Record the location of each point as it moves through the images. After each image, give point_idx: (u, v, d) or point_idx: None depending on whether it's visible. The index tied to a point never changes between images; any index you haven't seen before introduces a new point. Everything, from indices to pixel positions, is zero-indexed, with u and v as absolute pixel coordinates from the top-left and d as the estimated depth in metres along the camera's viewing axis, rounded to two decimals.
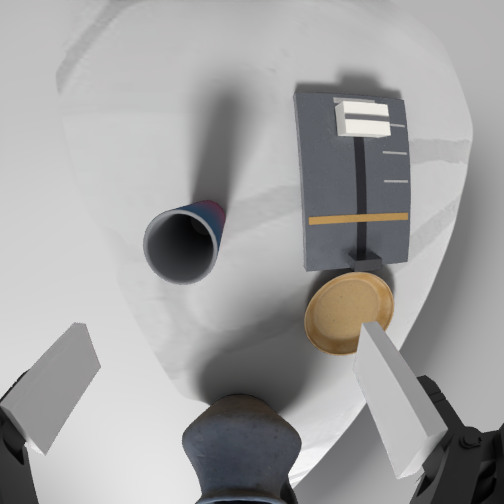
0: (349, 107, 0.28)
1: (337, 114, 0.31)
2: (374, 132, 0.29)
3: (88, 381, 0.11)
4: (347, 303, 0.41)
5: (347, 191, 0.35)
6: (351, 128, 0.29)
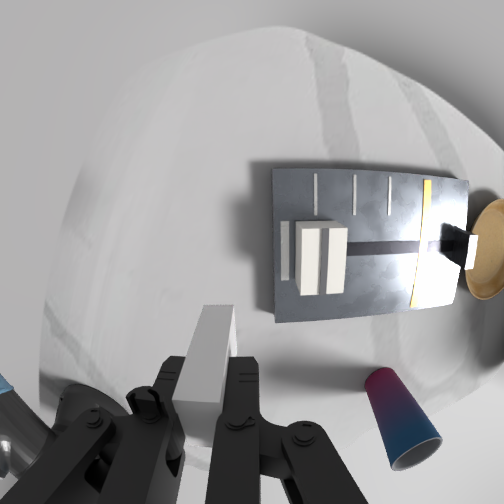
0: (309, 287, 0.24)
1: None
2: (344, 253, 0.23)
3: None
4: (483, 248, 0.29)
5: (395, 265, 0.28)
6: (338, 286, 0.24)
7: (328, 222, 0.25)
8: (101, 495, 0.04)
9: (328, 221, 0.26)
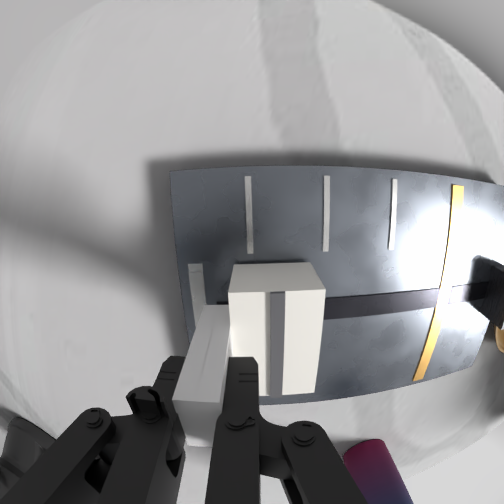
0: None
1: None
2: (317, 335, 0.12)
3: None
4: None
5: (396, 328, 0.16)
6: (304, 384, 0.13)
7: (293, 268, 0.14)
8: (101, 495, 0.04)
9: (294, 265, 0.14)
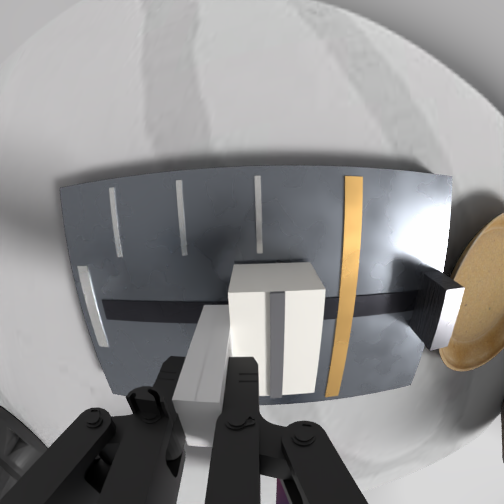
0: None
1: None
2: (317, 335, 0.12)
3: None
4: (477, 291, 0.18)
5: None
6: (304, 384, 0.13)
7: (293, 268, 0.14)
8: (101, 495, 0.04)
9: (294, 265, 0.14)
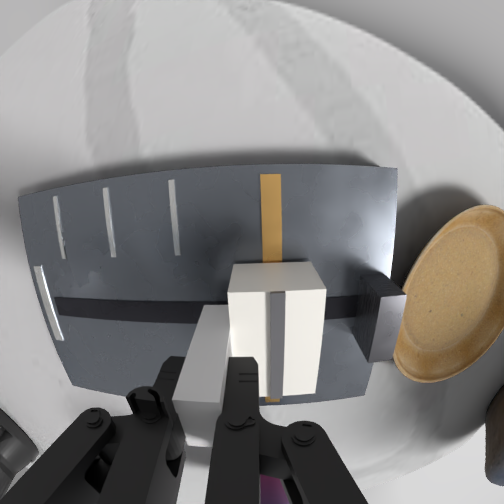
0: None
1: None
2: (317, 336, 0.12)
3: None
4: (445, 296, 0.17)
5: None
6: (305, 384, 0.13)
7: (293, 268, 0.14)
8: (101, 495, 0.04)
9: (295, 264, 0.14)
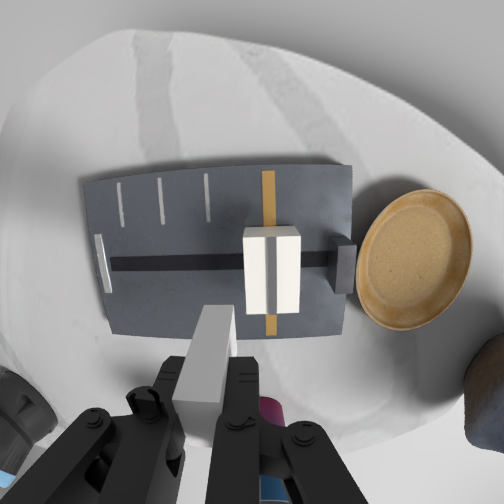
0: (256, 305, 0.21)
1: None
2: (297, 267, 0.20)
3: None
4: (402, 260, 0.25)
5: (229, 283, 0.24)
6: (291, 304, 0.21)
7: (282, 228, 0.22)
8: (101, 495, 0.04)
9: (284, 227, 0.22)
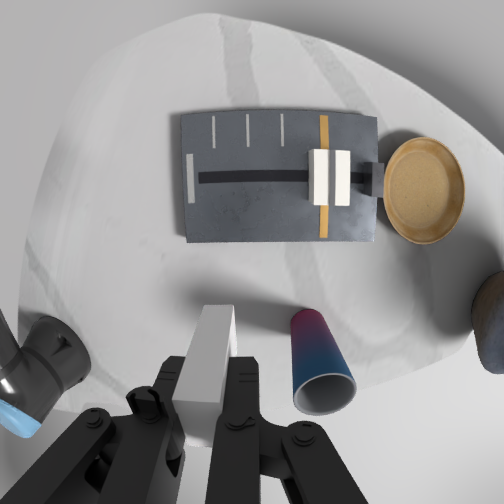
0: (321, 198, 0.29)
1: None
2: (348, 171, 0.28)
3: None
4: (413, 189, 0.33)
5: (295, 192, 0.32)
6: (344, 199, 0.29)
7: None
8: (101, 495, 0.04)
9: None
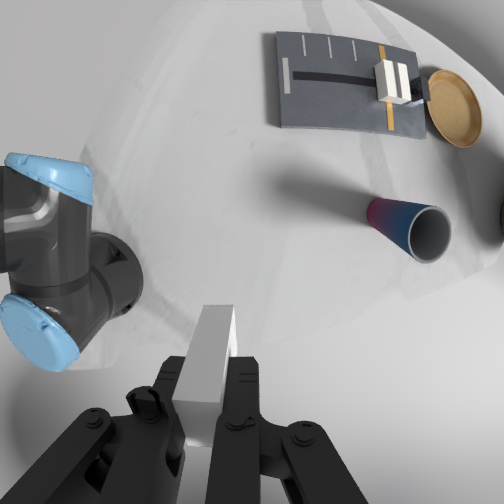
0: (392, 92, 0.30)
1: (386, 100, 0.33)
2: (407, 77, 0.30)
3: None
4: (445, 108, 0.35)
5: (367, 93, 0.34)
6: (407, 95, 0.30)
7: None
8: (101, 495, 0.04)
9: None
